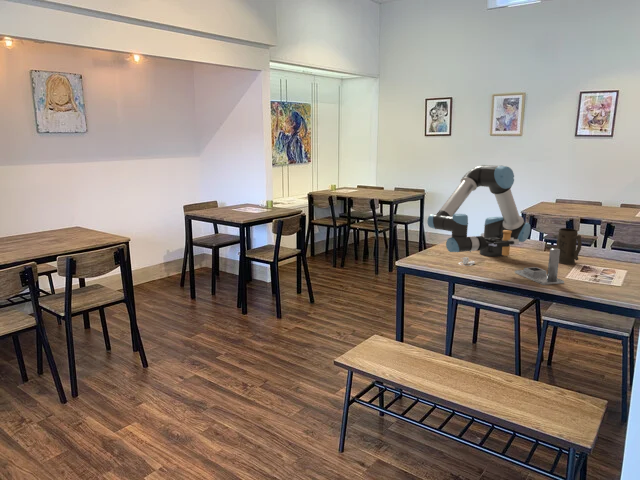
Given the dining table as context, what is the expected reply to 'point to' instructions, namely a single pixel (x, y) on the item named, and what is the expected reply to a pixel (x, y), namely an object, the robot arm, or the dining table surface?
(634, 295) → the dining table surface
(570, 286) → the dining table surface
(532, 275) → the grey upright stand
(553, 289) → the dining table surface
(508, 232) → the orange cylinder
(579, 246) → the beer stein
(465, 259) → the teacup and saucer
